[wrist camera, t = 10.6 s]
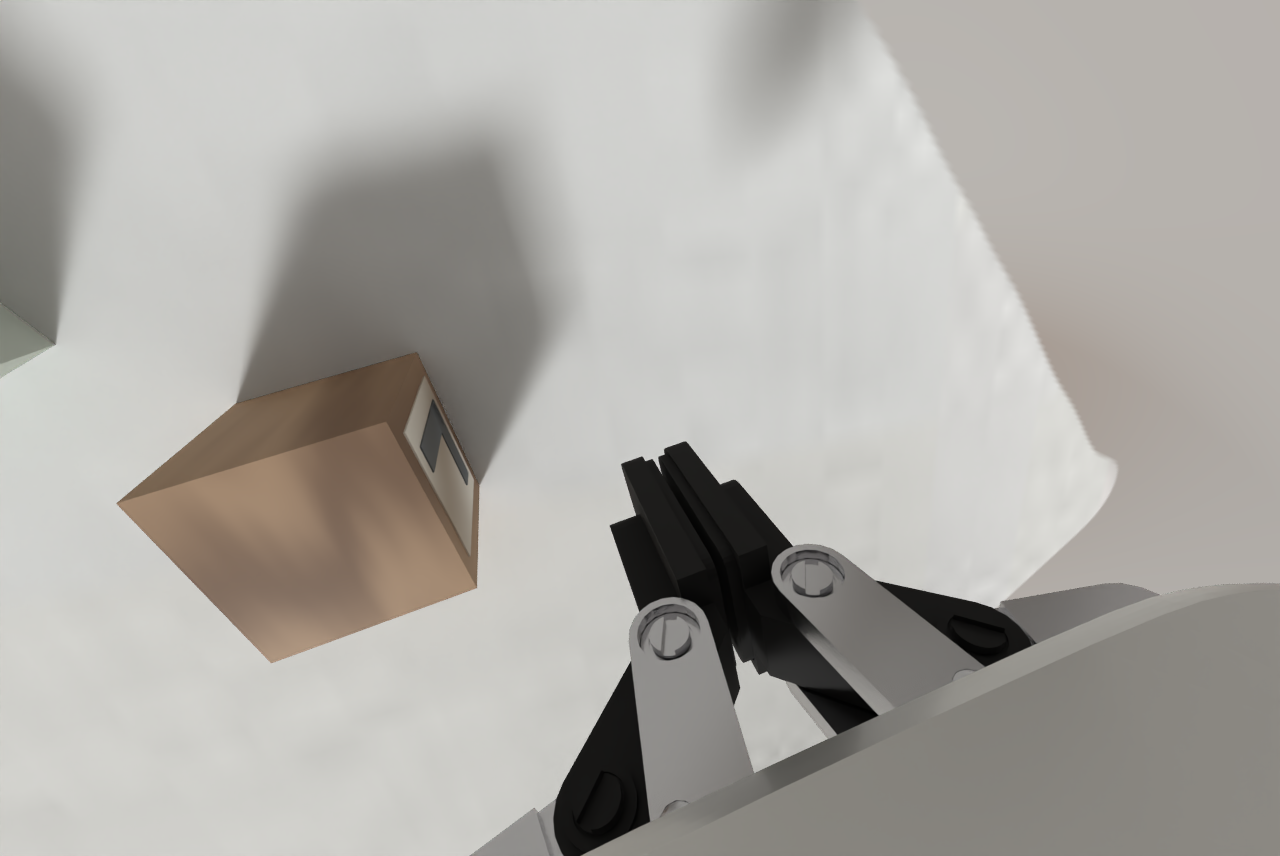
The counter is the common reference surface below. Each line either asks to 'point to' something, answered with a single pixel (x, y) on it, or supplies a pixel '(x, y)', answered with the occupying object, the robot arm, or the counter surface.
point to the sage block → (18, 341)
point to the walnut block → (320, 508)
